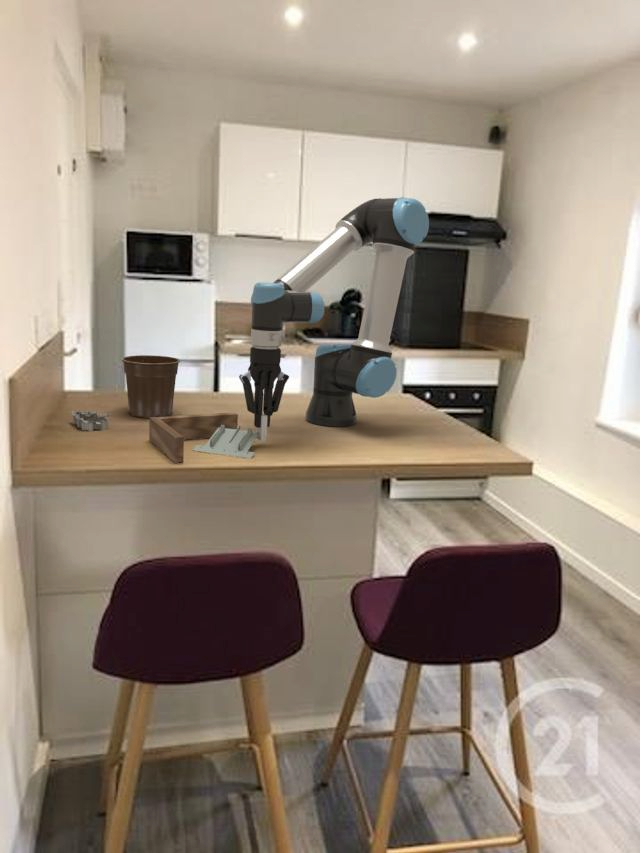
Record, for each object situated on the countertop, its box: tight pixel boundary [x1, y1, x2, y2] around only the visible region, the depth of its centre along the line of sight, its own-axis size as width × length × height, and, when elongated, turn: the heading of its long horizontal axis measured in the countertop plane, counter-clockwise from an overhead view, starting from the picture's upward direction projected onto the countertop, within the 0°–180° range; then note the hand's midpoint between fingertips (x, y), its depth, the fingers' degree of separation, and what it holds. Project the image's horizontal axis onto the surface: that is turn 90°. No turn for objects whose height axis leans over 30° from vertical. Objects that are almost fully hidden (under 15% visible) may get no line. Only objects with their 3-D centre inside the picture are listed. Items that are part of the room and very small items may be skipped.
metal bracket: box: [192, 425, 259, 459], centre depth 170 cm, size 14×6×15 cm
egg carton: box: [71, 410, 110, 432], centre depth 182 cm, size 11×8×4 cm
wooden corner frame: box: [148, 412, 239, 464], centre depth 169 cm, size 23×20×6 cm
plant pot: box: [121, 354, 181, 419], centre depth 198 cm, size 16×16×16 cm
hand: (261, 439), depth 174 cm, fingers closed
